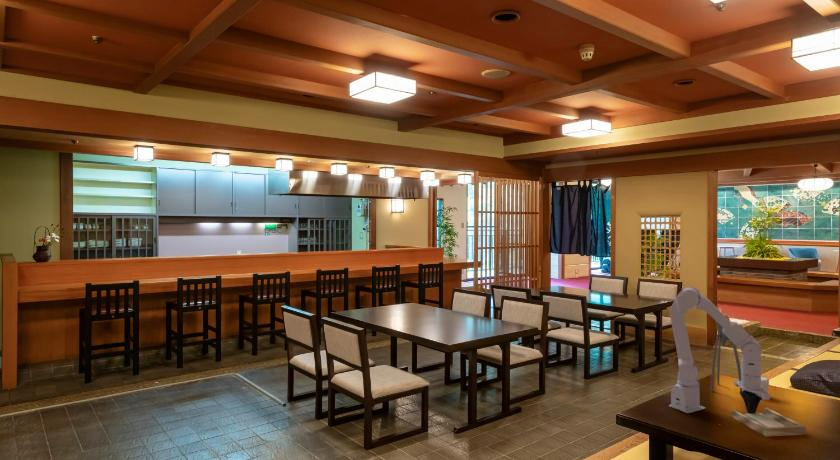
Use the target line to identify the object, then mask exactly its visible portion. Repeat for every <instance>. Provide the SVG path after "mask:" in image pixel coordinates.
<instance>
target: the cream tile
mask: <svg viewBox="0 0 840 460" xmlns="http://www.w3.org/2000/svg"><path fill="white" fill-rule="evenodd" d="M757 422H758V423H760V424H762V425H763V426H765V427H779V426H785V425H783V424H781V423H779V422H777V421H775V420H764V421H757Z"/></svg>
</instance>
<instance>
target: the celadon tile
mask: <svg viewBox="0 0 840 460" xmlns="http://www.w3.org/2000/svg"><path fill="white" fill-rule="evenodd" d="M744 415H745V416H747V417H749V418H751V419H752V420H754V421H756V422H757V421H764V420H773V419H772V418H770V417H768V416H766V415H764V413H761V412H756V413H754V414H749V413H744Z"/></svg>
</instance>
